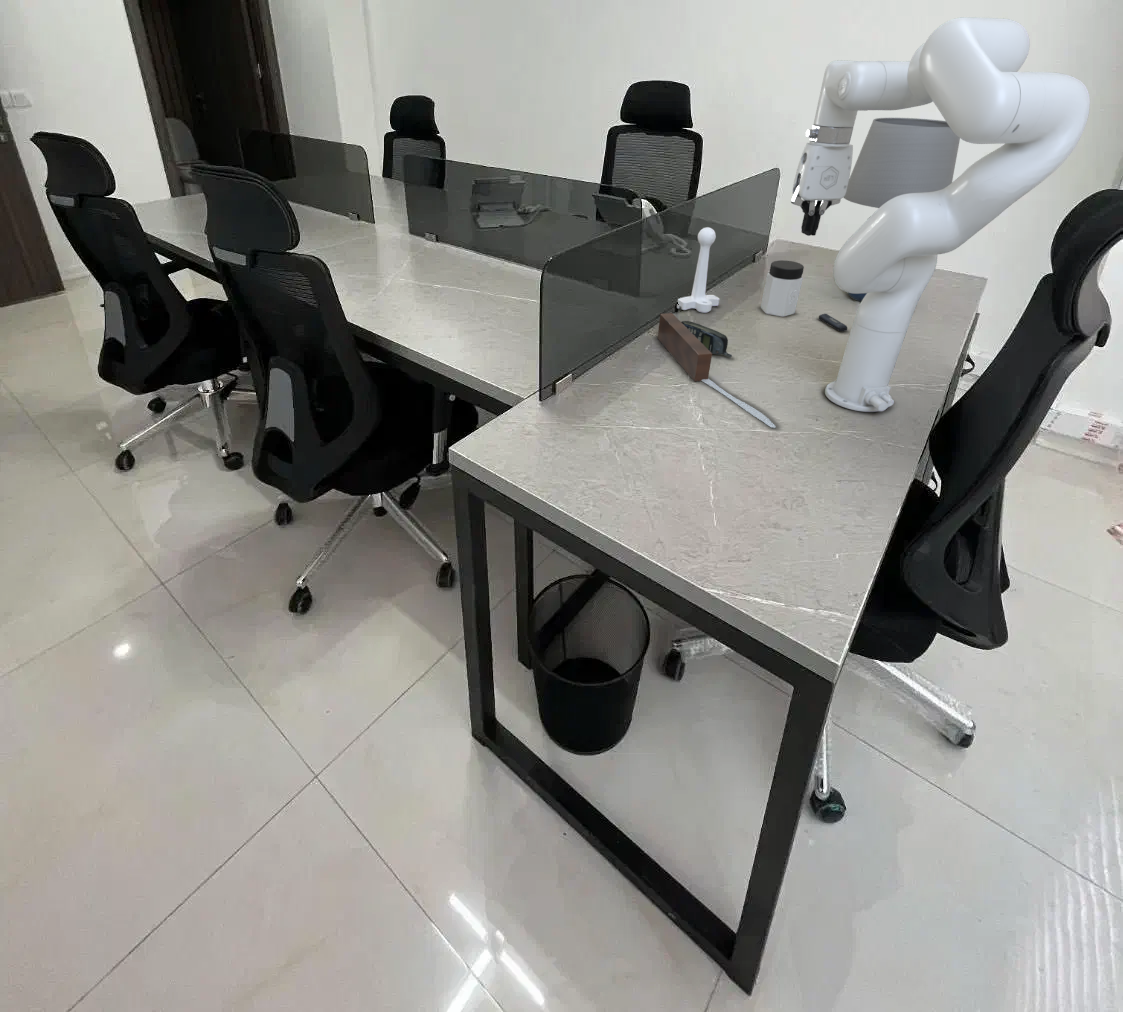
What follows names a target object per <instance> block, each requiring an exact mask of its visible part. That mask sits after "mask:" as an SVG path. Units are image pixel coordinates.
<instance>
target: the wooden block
mask: <svg viewBox="0 0 1123 1012" xmlns="http://www.w3.org/2000/svg"><path fill="white" fill-rule="evenodd" d="M658 321H659V322H658V330H657V340H658V342H660V343H661V344H662V346H664V348H665V349H666V351H668V353H670V355H671V356H672V357H673V358H674V359H675V361H676V362H677V363H678V364H679V365H680V366H681V368H682V369H683V370H684V371H685V372H686V373H687V374H688V375H689V377H690V378H691V379H692V381H694V382H702V381H701V380H703V379H709V376H710V371H711V370H710V369H711V364H712V359H713V354H712V353H711V352H710V351H709V350H708V349H707V348H706V347H705V346H704V345H703V344H702V343H701V342H700V341H699V340H698V339H697V338H696V337H695V336H694V335H693V334H692V333H691V332H690V331H689V330H688V329H687V328H686V327H685V326H684V325H683V324H682V323H681V320H680V319H679V318H678V317H677V316H676V315H675V314H673V312H669V313H667V312H666V313H660V314H659V320H658Z"/></svg>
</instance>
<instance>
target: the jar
mask: <svg viewBox="0 0 1123 1012" xmlns="http://www.w3.org/2000/svg"><path fill="white" fill-rule="evenodd" d="M804 269H805V267H804V265H803V264H802V263H800V262H797V261H794V260H793V261H792V260H787V259H786V260H781V259H780V260H774V261H772V262H771V263H770V266H769V272H767V274H766V279H765V283H764V289H763V294H762V299H761V303H760V309H761V310H762V311H763V312H764V313H765V315H771V316H777V317H786V316H791V315H794V314H795V313H796V311H797V310H796V309H797V305H798V300H799V297H800V293H801V288H802V284H803V279H804V278H803V274H804Z"/></svg>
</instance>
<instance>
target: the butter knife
mask: <svg viewBox="0 0 1123 1012" xmlns="http://www.w3.org/2000/svg"><path fill="white" fill-rule="evenodd" d="M700 382H702V383H704V384H705V385H707V386H709V387H710V388H712V389H714V390H715V391H716V392H718V393H720V394H722V395H723V396H724V397H726V398H728V399H729V400H731V401H732V402H734V403H735V404H736V405H737V406H739V407H740V408H742V409H743V410H744V411H746V412H747V413H749V414H751V416H753V417H755V418H757V419H758V420H760V421H761V422H762V423H764V424H765V425H766V426H768V427H769V428H771V429H776V428H777V426H776V425H775V424H774V423H773V422H772V421H771V420H770V419H769V417H767V416H766V415H765V414H764V413H762V412H760V411H759V410H757V409H756V408H754V407H753V406H751V405H750V404H748V403H746V402H744V401H742V400H740V399H738V398H736V397H735V396H733V395H732V394H730V393H728V392H727V391H725V390H724V389H723V388H721V387H720V386H719V385H717V384H716V383H715V382H714V381H713V380H712V379H710V378H708V379H703V380H701V381H700Z"/></svg>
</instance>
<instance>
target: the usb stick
mask: <svg viewBox="0 0 1123 1012" xmlns="http://www.w3.org/2000/svg"><path fill="white" fill-rule="evenodd" d="M818 319H819V320H820V321H822V322H824V323H825V324H826V325H828V326H830V327H832V328H833V329H835V330H837V331H838V332H840V333H841V332H842V333H843V332H846V331H848V326H847V325H846V324H844V323H843V322H841V321H839V320H838V319H836V318H834V316H831V315H829V314H828V313H821V314H820V315H819V316H818Z"/></svg>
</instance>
